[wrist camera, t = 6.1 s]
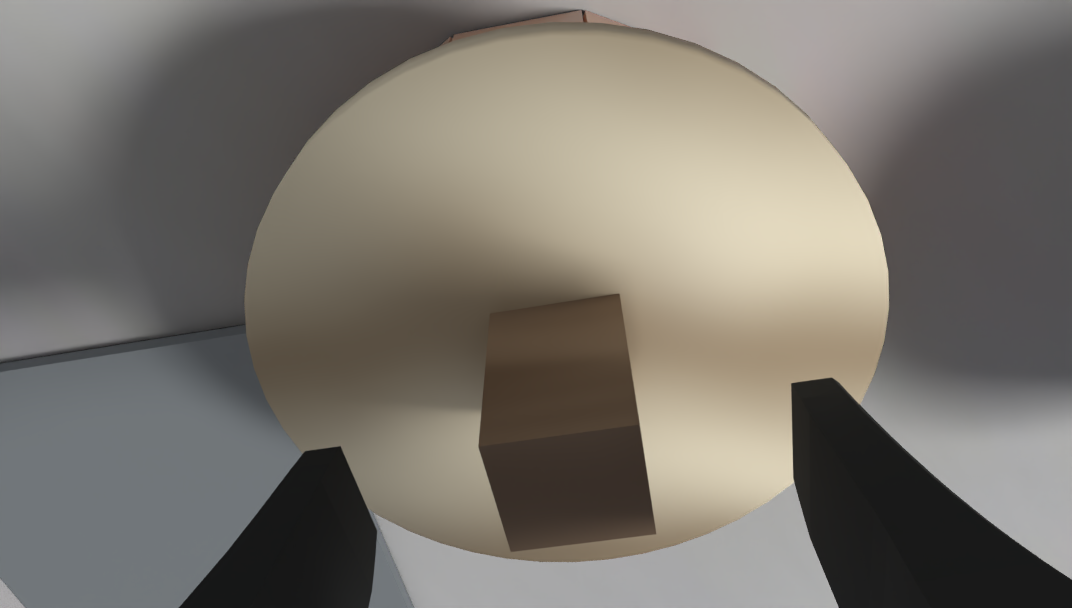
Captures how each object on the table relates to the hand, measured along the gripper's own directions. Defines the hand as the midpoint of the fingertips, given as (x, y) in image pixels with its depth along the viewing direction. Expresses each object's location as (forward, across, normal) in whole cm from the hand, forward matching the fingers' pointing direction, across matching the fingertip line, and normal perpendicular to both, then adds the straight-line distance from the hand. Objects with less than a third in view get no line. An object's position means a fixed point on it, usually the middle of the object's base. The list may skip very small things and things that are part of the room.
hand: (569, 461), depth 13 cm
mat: (+7, +13, +7) cm, 16 cm away
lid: (+4, 0, 0) cm, 4 cm away
